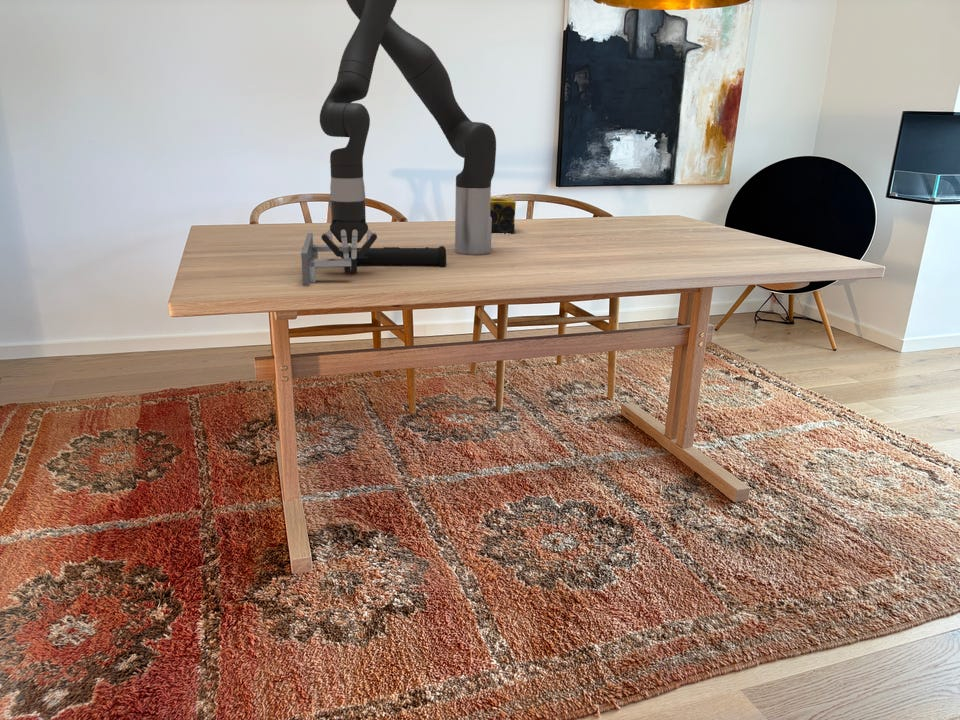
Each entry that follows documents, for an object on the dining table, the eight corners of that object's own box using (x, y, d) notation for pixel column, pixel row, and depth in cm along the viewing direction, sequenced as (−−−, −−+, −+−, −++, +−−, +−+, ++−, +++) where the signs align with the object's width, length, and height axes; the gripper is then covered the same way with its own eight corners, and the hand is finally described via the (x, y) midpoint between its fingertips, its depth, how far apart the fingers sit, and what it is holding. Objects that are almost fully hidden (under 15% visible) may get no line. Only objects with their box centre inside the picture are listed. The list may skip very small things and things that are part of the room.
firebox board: (315, 265, 178) (313, 233, 175) (310, 290, 155) (308, 253, 153) (309, 265, 177) (307, 233, 175) (303, 290, 155) (301, 253, 152)
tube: (444, 266, 182) (445, 244, 180) (446, 271, 177) (446, 248, 175) (343, 266, 179) (342, 243, 177) (341, 271, 174) (340, 248, 172)
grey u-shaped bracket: (351, 267, 176) (350, 244, 174) (352, 286, 159) (351, 260, 157) (313, 268, 175) (312, 244, 173) (309, 287, 158) (308, 261, 156)
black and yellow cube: (478, 228, 233) (479, 197, 230) (510, 228, 234) (511, 197, 231) (482, 234, 224) (483, 201, 220) (514, 234, 225) (516, 201, 221)
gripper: (377, 195, 166) (379, 270, 172) (318, 195, 164) (322, 271, 170) (378, 200, 159) (380, 277, 165) (316, 200, 157) (320, 278, 163)
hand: (350, 274), depth 168 cm, fingers closed
